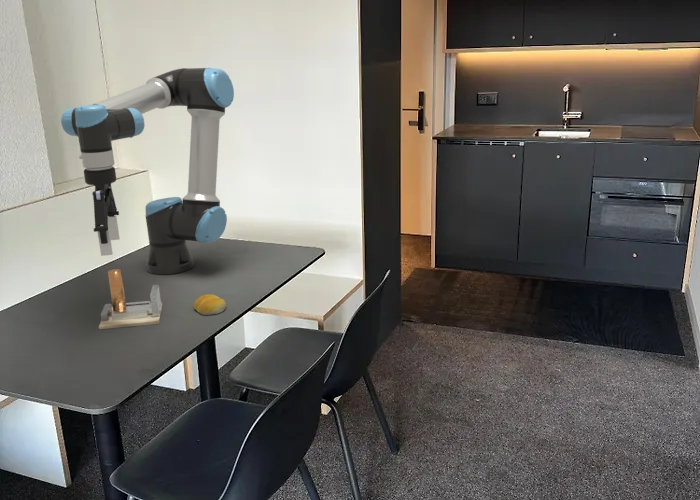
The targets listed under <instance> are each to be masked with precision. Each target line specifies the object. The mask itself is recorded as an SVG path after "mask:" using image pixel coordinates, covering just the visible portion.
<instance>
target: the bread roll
mask: <svg viewBox="0 0 700 500" xmlns="http://www.w3.org/2000/svg"><path fill="white" fill-rule="evenodd" d="M193 307H194V310H196V312H197V313H199V314H200V315H203V316H208V315H212V316H213V315H218V314H220V313H222V312H224V311H225V309H226V308H227V303H226V301H225V299H223V298H221V297H219V296H217V295H216V294H213V293H212V294H210V293H208V294H203V295H200V296H199V297H198V298H197V299H195V301H194V303H193Z"/></svg>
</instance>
